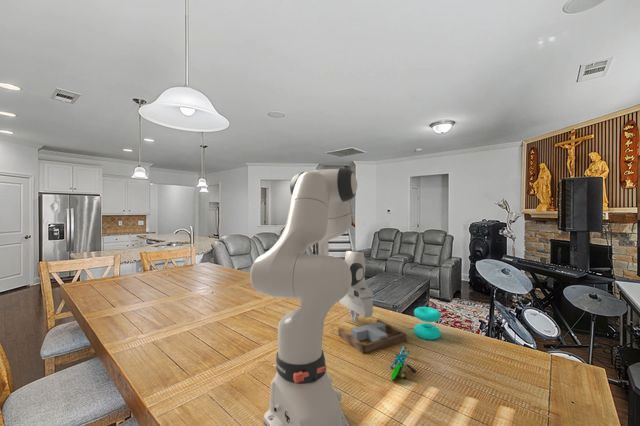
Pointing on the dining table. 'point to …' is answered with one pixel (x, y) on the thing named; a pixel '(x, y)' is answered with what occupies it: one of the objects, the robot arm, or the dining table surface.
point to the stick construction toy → (400, 365)
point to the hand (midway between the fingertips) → (354, 320)
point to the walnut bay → (374, 345)
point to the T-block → (370, 332)
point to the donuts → (424, 328)
